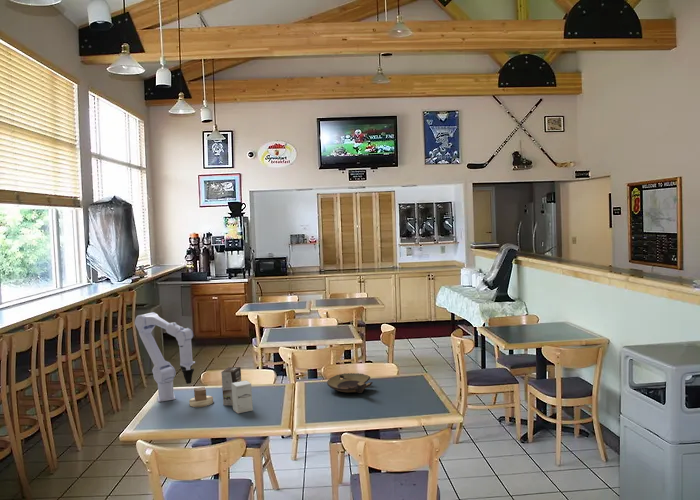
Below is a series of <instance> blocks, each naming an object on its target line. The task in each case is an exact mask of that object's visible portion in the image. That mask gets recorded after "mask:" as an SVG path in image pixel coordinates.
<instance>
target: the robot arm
mask: <svg viewBox="0 0 700 500" xmlns="http://www.w3.org/2000/svg"><path fill="white" fill-rule="evenodd" d="M134 325H135V327H136V329H137V331H138V335H139V337H140V339H141V341H142V343H143V346H144V348H145V350H146V351H147V353H148V355H149V358H150V359H151V362H152V364H153V368H152V370H151V372H152V374H153V379H154V381H155V382H156V384H157V393H158V394H157V401H158V403H160V402H166V401H172V400H173V401H174V400H176V395H175V393H174V379H175V376H176V373H177V372H176V368H175V366H173V365H172V364H171V362H170V361H168V360H166V359H165V357H164V356H163V353H162V352H161V350H160V348H159V346H158V344H157V341H156V339H155V338H154V336H153V334H152V333H153V332H152V331H153V330H154V329H155V327H156V326H157V327H160V328H161V329H164V330H165V332H166V333H167V334H168V335H169V336H172V337H174V338H175V339H176V341H177V345H178V346H179V348H178V349H179V367H180V369H181V372H182V374H183V378H184V380H185V384H187V385H189V384H191V383H192V379H193V375H194V372H195V369H194V368H192V367H193V365H194V364H196V361H194V360H193V350H192V349H193V347H192V346H193V345H192V339H193V338H194V332H193V330H192V329H191V328H190V327H186V328H185V327H184V326H181V325H179V324H177V322H175V321H174V322H169V321H167V320H165V319H164V318H162V317H160V316H159V314H158V313H156V312H154V311H151V312H148V313H144V314H138V315H136V317H135V320H134Z"/></svg>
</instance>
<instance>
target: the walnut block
mask: <svg viewBox="0 0 700 500" xmlns="http://www.w3.org/2000/svg"><path fill="white" fill-rule="evenodd" d="M193 395H194V397H195V401H202V400H207V399H206V396H207V389H206V386H201V387H195V388H193Z"/></svg>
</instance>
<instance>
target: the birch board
mask: <svg viewBox="0 0 700 500" xmlns="http://www.w3.org/2000/svg"><path fill="white" fill-rule="evenodd" d="M206 399H207V400H202V401H195V396H194V397H191V398H190V399H189V401H188V402H189V406H190V407H192V408H202V407H204V408H205V407H207V405H208V406H210V405H213V403H214V397H213V396H211V395H206Z"/></svg>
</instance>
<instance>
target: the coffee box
mask: <svg viewBox="0 0 700 500" xmlns="http://www.w3.org/2000/svg"><path fill="white" fill-rule="evenodd" d="M241 369H242V368H241V366H230V367H229V366H228V367H227V368H226V369H223V370H222V371H221V373H220V374H221V388H222V405H223V406H233V401H232V385H231V383H234V382H240V381H242V371H241Z"/></svg>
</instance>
